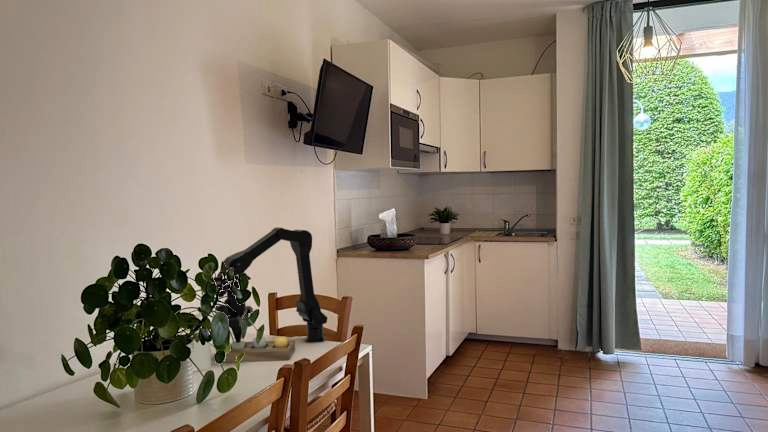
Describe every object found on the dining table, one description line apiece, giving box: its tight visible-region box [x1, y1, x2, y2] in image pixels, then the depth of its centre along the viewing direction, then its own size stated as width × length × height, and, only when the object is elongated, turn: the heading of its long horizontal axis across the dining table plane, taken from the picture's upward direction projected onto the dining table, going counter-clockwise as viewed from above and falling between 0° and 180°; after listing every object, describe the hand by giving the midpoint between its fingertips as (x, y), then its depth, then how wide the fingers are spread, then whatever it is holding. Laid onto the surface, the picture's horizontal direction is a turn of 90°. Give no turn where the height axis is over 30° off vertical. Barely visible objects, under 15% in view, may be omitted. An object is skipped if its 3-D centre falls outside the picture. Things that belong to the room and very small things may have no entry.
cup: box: [192, 312, 212, 372], centre depth 164 cm, size 8×8×16 cm
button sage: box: [231, 340, 245, 349], centre depth 175 cm, size 4×4×4 cm
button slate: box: [252, 337, 267, 349], centre depth 175 cm, size 4×4×4 cm
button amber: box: [274, 335, 288, 348], centre depth 175 cm, size 4×4×4 cm
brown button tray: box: [224, 339, 296, 363], centre depth 175 cm, size 12×21×3 cm, turn 90°
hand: (238, 342), depth 175 cm, fingers closed, pressing on button sage
